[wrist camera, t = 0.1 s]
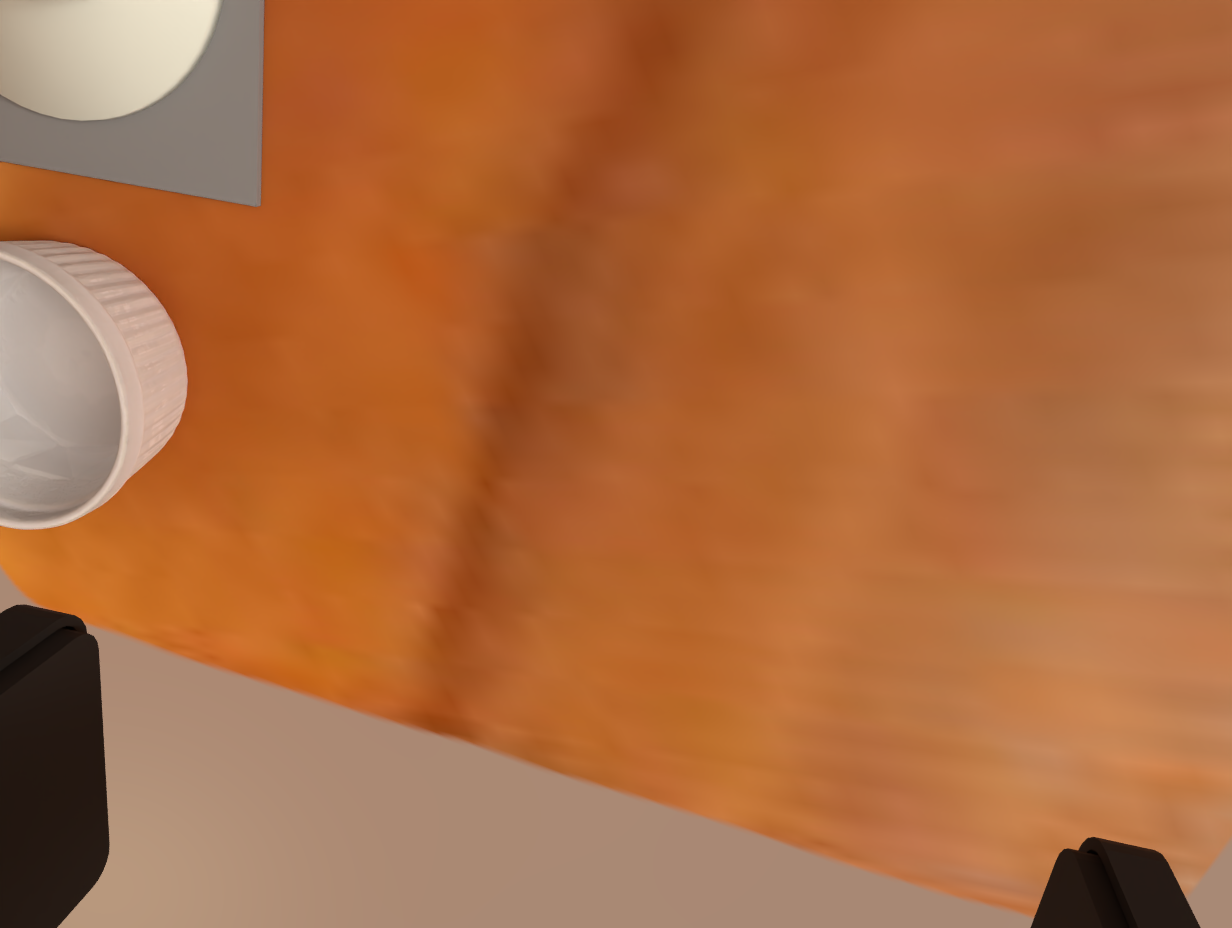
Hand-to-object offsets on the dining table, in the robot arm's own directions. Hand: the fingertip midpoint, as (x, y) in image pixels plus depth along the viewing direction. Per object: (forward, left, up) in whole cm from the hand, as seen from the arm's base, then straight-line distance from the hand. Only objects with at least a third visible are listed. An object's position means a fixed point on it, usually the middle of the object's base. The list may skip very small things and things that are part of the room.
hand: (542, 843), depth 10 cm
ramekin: (+10, -31, -37) cm, 49 cm away
